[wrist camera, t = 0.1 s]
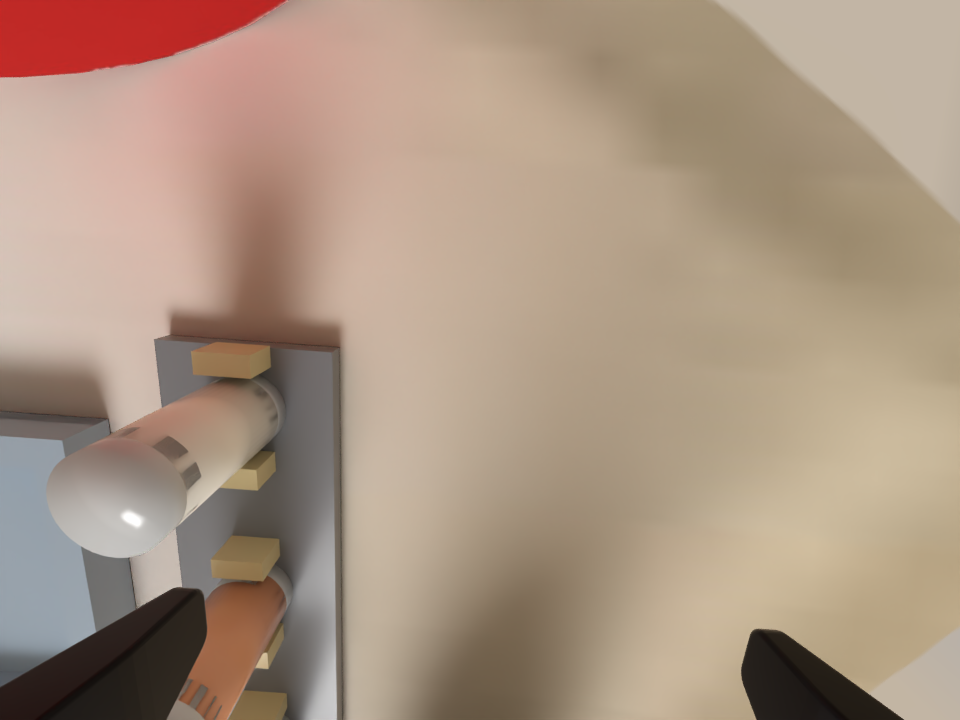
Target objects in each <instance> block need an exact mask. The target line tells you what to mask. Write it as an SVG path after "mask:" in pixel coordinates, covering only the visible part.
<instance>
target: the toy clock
mask: <svg viewBox="0 0 960 720" xmlns="http://www.w3.org/2000/svg"><path fill="white" fill-rule="evenodd" d="M287 1H289V0H0V77H31V76H45V75H60V74H74V73H83V72H90V71H97V70H104V69H111V68H117V67H124V66H130V65H135V64H139V63H143V62H147V61H152V60H156V59H160V58H164V57H169V56H173V55H176V54H179V53H182V52H185V51H188V50H191V49H194V48H197V47H200V46H203V45H206V44H209V43H212V42H215V41H217V40H219V39H221V38H223V37H225V36H228V35H230V34H232V33H234V32H236V31H238V30H240V29H242V28H245V27H247V26H249V25H251V24H253V23H255V22H256V21H258V20H259V19H261V18H262V17H264V16H266V15H267V14H269V13H270V12H272V11H273V10H275V9H277V8H278V7H280V6H281V5H283V4H285V3H286V2H287Z"/></svg>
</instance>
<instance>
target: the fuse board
mask: <svg viewBox="0 0 960 720" xmlns="http://www.w3.org/2000/svg"><path fill="white" fill-rule="evenodd" d="M154 342H155V351H156V360H157V368H158V377H159V386H160V395H161V403H162V408H163V407H164V406H166V405H168V404H170V403H172V402H174V401H176V400H178V399H180V398H182V397H184V396H186V395H188V394H190V393H192V392H194V391H196V390H198V389H200V388H202V387H204V386H206V385H208V384H210V383H211V382H213V381H215V380H217V379H219V378H221V377H232V378H246V379H252V378H253V377H255V376H257V375H260V376H262V377H264V378H265V379H267V380H268V381H270V382H271V383H272V384H273V385H274V386H275V387H276V388H277V389H278V391H279V392H280V394H281V396H282V398H283V400H284V403H285V408H286V418H285V422H284V425H283V427H282V429H281V431H280V432H279V433H278V434H277V435H276V436H275V437H274V438H273V439H272V440H271V441H270V442H269V443H268V444H266V445H265V446H264V447H263V448H262V449H261V450H260V451H259V452H258V453H257V454H256V455H255V456H253V457H252V458H251V459H250V460H249V461H248V462H247V463H246V464H245V465H244V466H243V467H241V468H240V469H239V470H238V471H237V472H236V473H235V474H234V475H233V476H232V477H231V478H229V479H228V480H227V481H226V482H225V483H224V484H223V485H222V486H221V487H220V488H219V489H217V490H216V491H215V492H214V493H213V494H212V495H211V496H210V497H209V498H208V499H207V500H206V501H204V502H203V503H202V504H201V505H200V506H199V507H198V508H197V509H196V510H195V511H194V512H192V513H191V514H190V515H189V516H188V517H187V518H186V519H185V520H184V521H183V522H182V523H180V524H179V525H178V526H177V527H176V535H177V543H178V552H179V561H180V570H181V578H182V587H184V588H197V589H200V590H202V592H203V593H204V598H205V600H206V599H207V597H208V596H209V595H210V593H211V592H212V591H213V590H214V588H215V587H216V586H217V585H218V583H219V582H220V581H221V580H222V579H236V580H250V581H264V579H265V578H266V576H267V575H268V573H269V572H270V570H271V569H272V567H273V566H274V564H275V565H276V566H278V567H279V568H281V569H282V570H283V571H284V572H285V573H286V574H287V576H288V577H289V579H290V581H291V583H292V586H293V598H292V601H291V603H290V605H289V607H288V608H287V610H286V612H285V614H284V616H283V618H282V619H281V621H280V623H279V625H278V627H277V629H276V630H275V632H274V634H273V636H272V638H271V640H270V641H269V643H268V645H267V647H266V649H265V651H264V652H263V654H262V656H261V658H260V660H259V662H258V663H257V665H256V667H255V669H254V671H253V673H252V674H251V676H250V678H249V680H248V682H247V684H246V685H245V687H244V689H243V691H242V693H241V695H240V696H239V698H238V700H237V702H236V704H235V706H234V707H233V709H232V711H231V713H230V715H229V717H228V718H227V720H282V718H283V716H284V715H285V716H286V717H288V718H289V719H290V720H342V604H341V483H340V361H339V347H326V346H313V345H299V344H285V343H271V342H258V341H244V340H230V339H216V338H202V337H189V336H175V335H168V336H165V337H161V338H158V339H154Z"/></svg>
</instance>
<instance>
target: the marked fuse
mask: <svg viewBox="0 0 960 720" xmlns="http://www.w3.org/2000/svg"><path fill="white" fill-rule="evenodd" d="M292 598H293V586H292V583H291V581H290V579H289V577H288V576H287V574H286V573H285V572H284V571H283V570H282V569H281V568H279V567H278V566H276V565H275V564H274V566H273V567H272V569H271V570H270V572H269V573H268V575H267V576H266V578H265V579H264V581H250V580H236V579H222V580H221V581H220V582H219V583H218V585H217V586H216V587H215V588H214V590H213V591H212V592H211V593H210V595H209V596H208V597H207V599H206V600H205V608H206V618H207V636H206V640H205V643H204V646H203V648H202V650H201V652H200V654H199V656H198V658H197V660H196V662H195V664H194V666H193V668H192V670H191V672H190V674H189V676H188V678H187V680H186V682H185V684H184V686H183V688H182V690H181V692H180V694H179V696H178V698H177V700H176V702H175V704H174V706H173V708H172V710H171V712H170V714H169V716H168V718H167V720H227V718H228V717H229V715H230V713H231V711H232V709H233V707H234V706H235V704H236V702H237V700H238V698H239V696H240V695H241V693H242V691H243V689H244V687H245V685H246V684H247V682H248V680H249V678H250V676H251V674H252V673H253V671H254V669H255V667H256V665H257V663H258V662H259V660H260V658H261V656H262V654H263V652H264V651H265V649H266V647H267V645H268V643H269V641H270V640H271V638H272V636H273V634H274V632H275V630H276V629H277V627H278V625H279V623H280V621H281V619H282V618H283V616H284V614H285V612H286V610H287V608H288V607H289V605H290V603H291V601H292Z"/></svg>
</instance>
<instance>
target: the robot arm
mask: <svg viewBox="0 0 960 720" xmlns="http://www.w3.org/2000/svg"><path fill="white" fill-rule="evenodd" d="M206 636H207V618H206V608H205V598H204V593H203V592H202V590H200V589H197V588H184V587H177V588H173V589H171V590H169V591H167V592H165V593H164V594H162V595H160V596H158V597H157V598H155V599H153V600H151V601H150V602H148V603H146V604H144V605H143V606H141V607H139V608H137V609H136V610H134V611H132V612H130V613H129V614H127V615H125V616H123V617H122V618H120V619H118V620H116V621H115V622H113V623H111V624H109V625H108V626H106V627H104V628H102V629H101V630H99V631H97V632H95V633H94V634H92V635H90V636H88V637H87V638H85V639H83V640H81V641H79V642H78V643H76V644H74V645H72V646H71V647H69V648H67V649H65V650H64V651H62V652H60V653H58V654H57V655H55V656H53V657H51V658H50V659H48V660H46V661H44V662H43V663H41V664H39V665H37V666H36V667H34V668H32V669H30V670H29V671H27V672H25V673H23V674H22V675H20V676H18V677H16V678H15V679H13V680H11V681H9V682H8V683H6V684H4V685H2V686H1V687H0V720H167V718H168V716H169V714H170V712H171V710H172V708H173V706H174V704H175V702H176V700H177V698H178V696H179V694H180V692H181V690H182V688H183V686H184V684H185V682H186V680H187V678H188V676H189V674H190V672H191V670H192V668H193V666H194V664H195V662H196V660H197V658H198V656H199V654H200V652H201V650H202V648H203V646H204V643H205V640H206ZM741 676H742V681H743V685H744V688H745V691H746V693H747V696H748V698H749V701H750V704H751V706H752V709H753V712H754V714H755V717H756V719H757V720H904V719H902V718H901V717H900V716H898V715H897V714H896V713H894V712H893V711H891V710H890V709H888V708H887V707H886V706H884V705H883V704H882V703H880V702H879V701H877V700H876V699H875V698H873V697H872V696H871V695H869V694H868V693H867V692H865V691H864V690H862V689H861V688H860V687H858V686H857V685H855V684H854V683H853V682H851V681H850V680H849V679H847V678H846V677H844V676H843V675H842V674H840V673H839V672H838V671H836V670H835V669H833V668H832V667H831V666H829V665H828V664H826V663H825V662H824V661H822V660H821V659H820V658H818V657H817V656H815V655H814V654H813V653H811V652H810V651H808V650H807V649H806V648H804V647H803V646H802V645H800V644H799V643H797V642H796V641H795V640H793V639H792V638H791V637H789V636H788V635H786V634H785V633H783V632H781V631H778V630H769V629H755V630H753V631H752V632H751V634H750V637H749V641H748V645H747V648H746V652H745V656H744V659H743V663H742V667H741Z"/></svg>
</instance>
